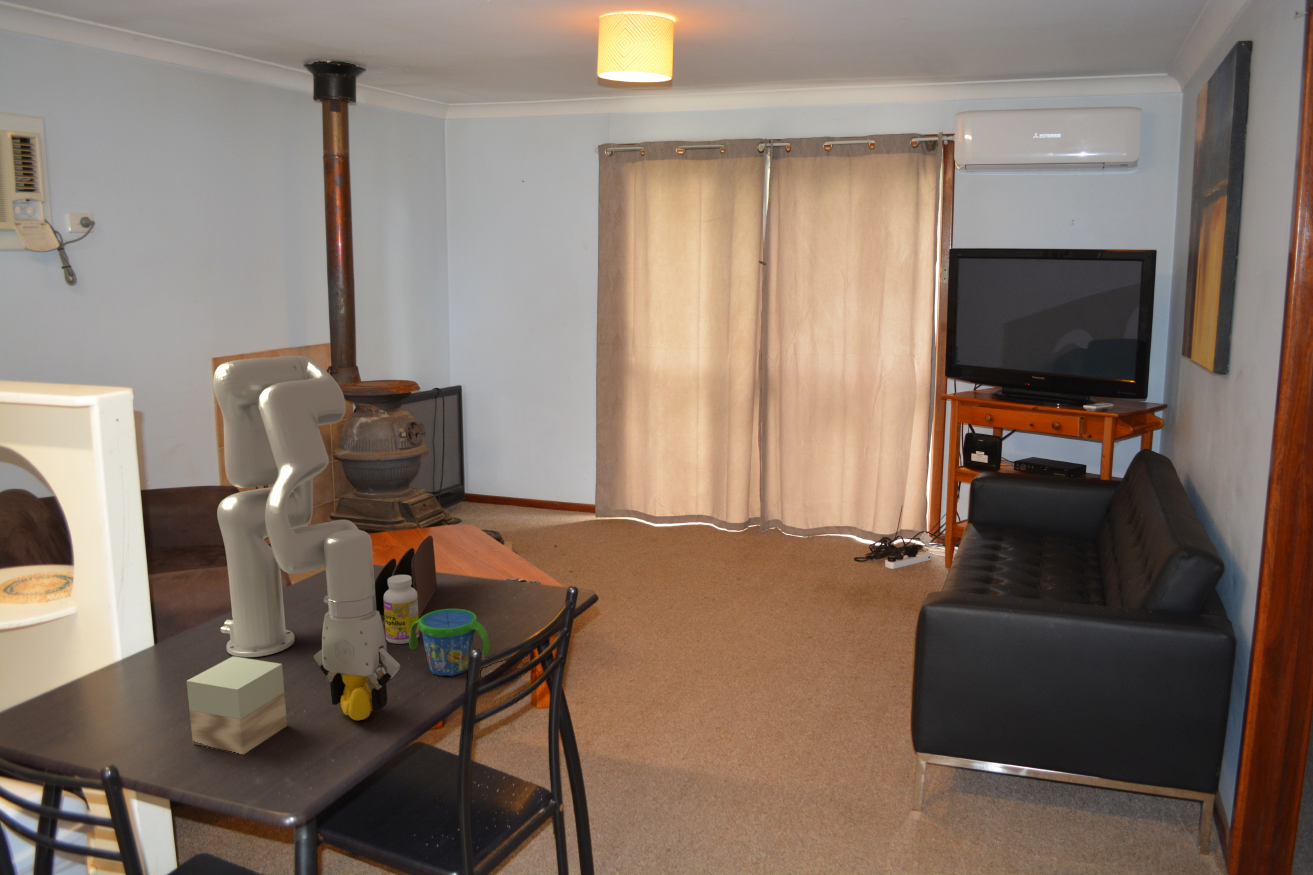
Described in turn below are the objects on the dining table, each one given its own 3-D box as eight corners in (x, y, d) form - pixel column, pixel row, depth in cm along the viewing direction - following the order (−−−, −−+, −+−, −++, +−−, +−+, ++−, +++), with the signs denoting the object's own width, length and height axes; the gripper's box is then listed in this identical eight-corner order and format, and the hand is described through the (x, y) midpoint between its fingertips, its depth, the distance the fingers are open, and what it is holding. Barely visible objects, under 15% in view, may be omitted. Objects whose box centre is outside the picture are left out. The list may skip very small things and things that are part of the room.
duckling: (338, 703, 169) (334, 648, 167) (370, 697, 171) (367, 644, 169) (345, 732, 158) (341, 674, 156) (379, 725, 160) (375, 669, 158)
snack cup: (500, 664, 184) (499, 613, 182) (471, 687, 174) (468, 633, 173) (431, 652, 190) (428, 603, 188) (398, 674, 180) (395, 622, 178)
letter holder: (437, 588, 227) (434, 530, 224) (419, 620, 207) (415, 556, 205) (394, 589, 227) (391, 531, 224) (372, 620, 207) (368, 557, 204)
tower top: (189, 710, 154) (186, 680, 153) (235, 684, 163) (232, 656, 162) (240, 719, 151) (237, 689, 150) (284, 692, 160) (281, 663, 159)
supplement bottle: (378, 642, 195) (375, 581, 193) (399, 630, 201) (395, 571, 199) (406, 647, 193) (402, 585, 190) (426, 634, 199) (423, 575, 196)
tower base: (193, 745, 155) (189, 710, 154) (239, 717, 164) (235, 684, 163) (243, 755, 151) (239, 720, 150) (287, 726, 161) (284, 692, 160)
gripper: (293, 607, 160) (302, 707, 163) (383, 618, 154) (390, 721, 157) (323, 592, 167) (330, 688, 170) (410, 602, 161) (416, 702, 164)
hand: (359, 703), depth 164 cm, fingers closed on duckling, 7 cm apart
